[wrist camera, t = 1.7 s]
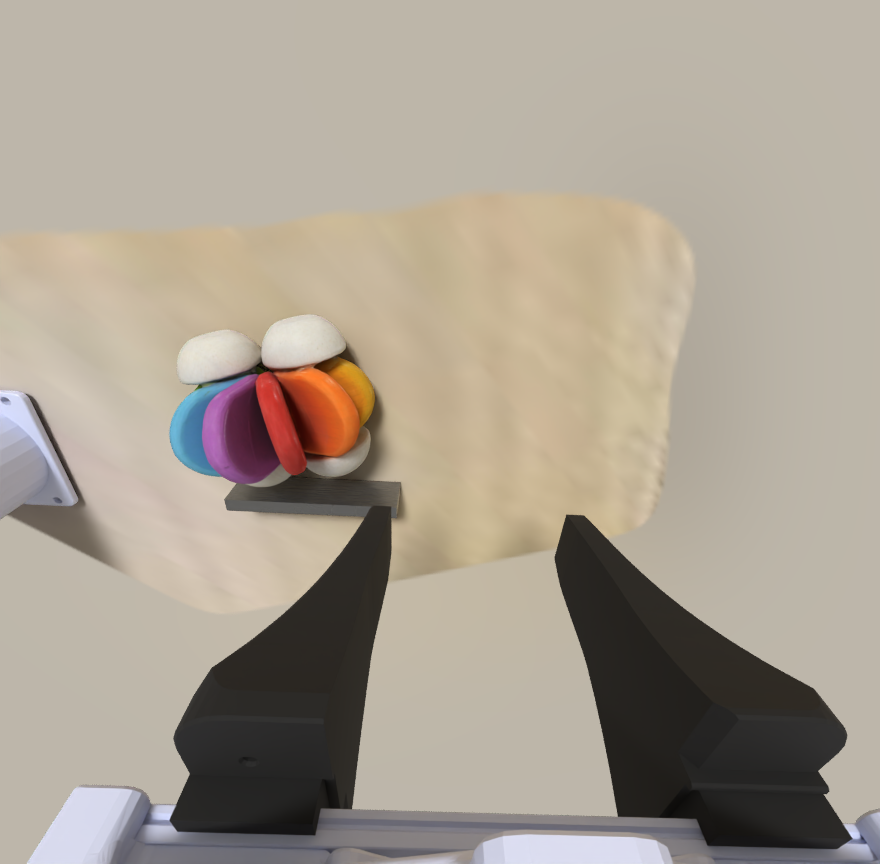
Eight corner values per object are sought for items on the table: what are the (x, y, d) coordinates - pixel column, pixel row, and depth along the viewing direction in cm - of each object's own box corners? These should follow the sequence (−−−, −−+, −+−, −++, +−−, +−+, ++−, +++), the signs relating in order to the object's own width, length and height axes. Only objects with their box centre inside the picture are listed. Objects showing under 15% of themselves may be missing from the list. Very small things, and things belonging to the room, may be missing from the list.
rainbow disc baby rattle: (394, 442, 24) (377, 524, 18) (244, 464, 25) (177, 550, 18) (357, 300, 20) (318, 340, 14) (180, 332, 21) (64, 383, 14)
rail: (245, 484, 25) (227, 510, 23) (243, 474, 25) (224, 499, 23) (400, 492, 26) (396, 518, 23) (400, 482, 25) (396, 507, 23)
